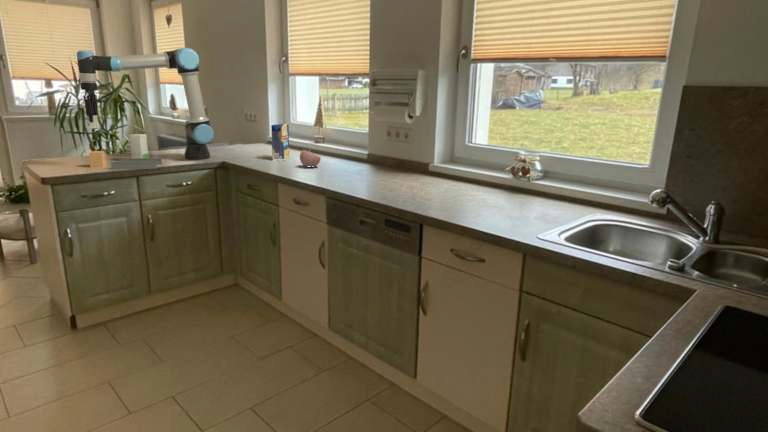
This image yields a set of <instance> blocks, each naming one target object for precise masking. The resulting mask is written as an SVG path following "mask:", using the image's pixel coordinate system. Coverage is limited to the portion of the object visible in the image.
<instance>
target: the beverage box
mask: <svg viewBox="0 0 768 432" xmlns="http://www.w3.org/2000/svg"><path fill="white" fill-rule="evenodd" d="M270 127H271V156H272V157H271V159H285V158H287V157H289V158H290V129H289V128H290V127H289V124H284V123H276V124H272V125H271V126H270Z"/></svg>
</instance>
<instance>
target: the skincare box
mask: <svg viewBox="0 0 768 432" xmlns="http://www.w3.org/2000/svg"><path fill="white" fill-rule="evenodd" d="M128 137H129V145H130V155H131V158H149V149H148V147H149V146H148V139H147V138H148V136H147V134H146V133H144V134H142V133H134V134H128Z"/></svg>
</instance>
